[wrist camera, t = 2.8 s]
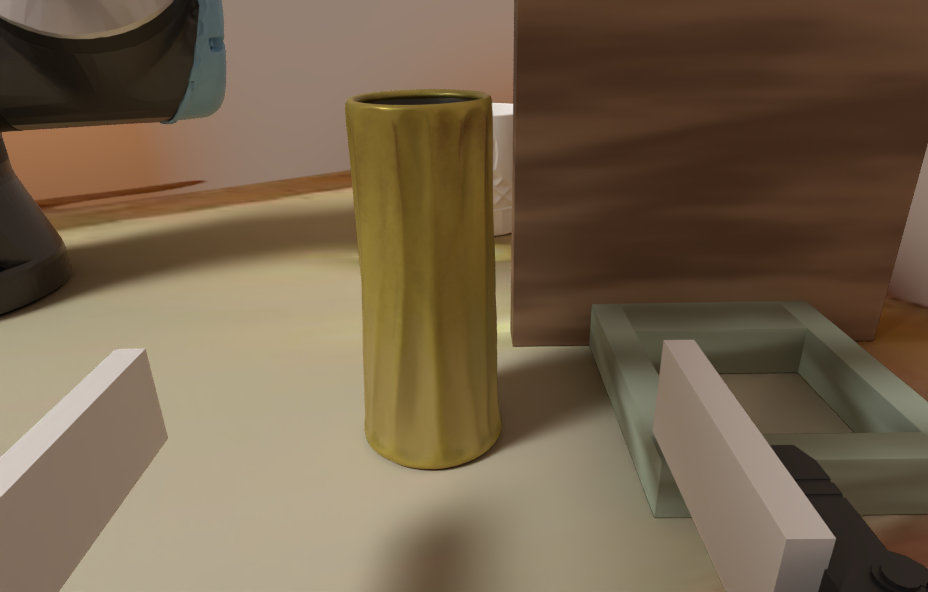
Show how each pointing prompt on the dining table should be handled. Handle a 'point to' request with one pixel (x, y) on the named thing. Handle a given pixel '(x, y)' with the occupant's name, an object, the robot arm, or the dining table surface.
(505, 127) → the white cup
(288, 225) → the dining table surface
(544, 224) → the board
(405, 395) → the vase
